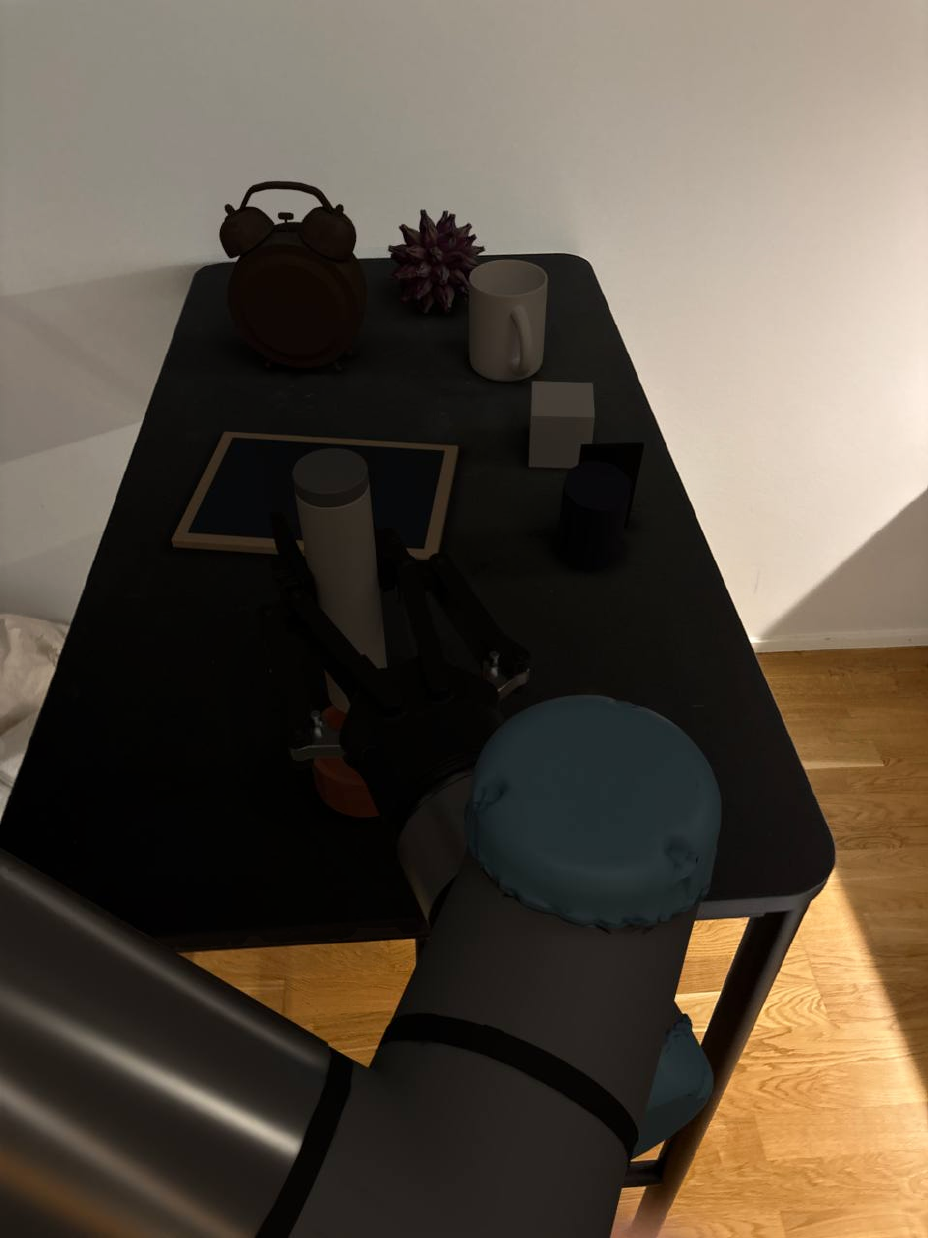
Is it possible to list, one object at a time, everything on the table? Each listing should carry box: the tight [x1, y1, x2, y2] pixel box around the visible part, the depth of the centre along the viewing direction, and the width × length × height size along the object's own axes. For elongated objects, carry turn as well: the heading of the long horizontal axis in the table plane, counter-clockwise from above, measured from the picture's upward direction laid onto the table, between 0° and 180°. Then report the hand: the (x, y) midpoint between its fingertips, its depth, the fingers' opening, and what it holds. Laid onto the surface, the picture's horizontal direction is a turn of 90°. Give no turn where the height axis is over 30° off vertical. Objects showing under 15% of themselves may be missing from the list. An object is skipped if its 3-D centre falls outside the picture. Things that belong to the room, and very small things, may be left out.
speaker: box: [556, 441, 645, 572], centre depth 85 cm, size 8×6×10 cm
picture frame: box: [171, 431, 459, 560], centre depth 93 cm, size 24×17×1 cm
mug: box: [468, 259, 549, 383], centre depth 105 cm, size 12×8×10 cm
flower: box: [387, 209, 486, 314], centre depth 116 cm, size 12×12×12 cm
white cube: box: [528, 380, 596, 469], centre depth 97 cm, size 6×6×6 cm
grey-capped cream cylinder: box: [292, 448, 388, 713], centre depth 58 cm, size 4×4×18 cm
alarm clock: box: [218, 180, 368, 372], centre depth 104 cm, size 15×7×20 cm, turn 84°
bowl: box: [310, 704, 380, 819], centre depth 70 cm, size 8×8×4 cm
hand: (315, 520), depth 61 cm, fingers closed on grey-capped cream cylinder, 4 cm apart
